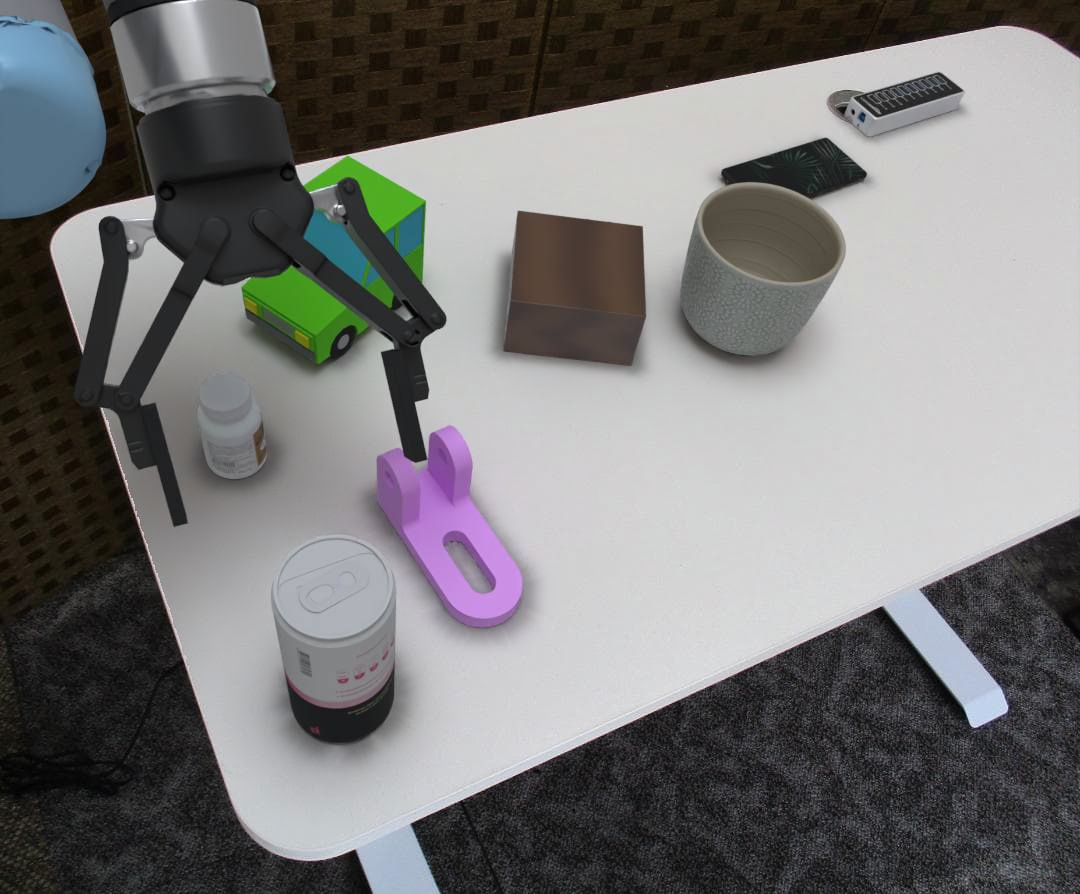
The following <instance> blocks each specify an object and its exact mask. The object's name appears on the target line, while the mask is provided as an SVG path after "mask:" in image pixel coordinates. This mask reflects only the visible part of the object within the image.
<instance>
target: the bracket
mask: <svg viewBox="0 0 1080 894" xmlns="http://www.w3.org/2000/svg"><path fill="white" fill-rule="evenodd" d="M473 464H474V463H473V457H472V453H471V451H470V448H469V446H468V443H467V442H466V440H465V438H464V437H463V435H462V433H461V432H460V431H459V430H458V429H457V428H456V427H455V426H454V425H451V424H449V425H446V426H444V427H441V428H439V429H437V430H435V431H433V432H431V433H430V434H429V435H428V449H427V465H426V466H427V467H426V468H425V469H423V470H420V471H418V472H417V471H416V469H415V467H414V464H413V462H412V461H411V460H409V459H407V458H405V457H404V453H403V449H402V448H400V447H395V448H393V449H391V450H388V451H386V452H384V453H381V454H379V455H377V456H376V502H377V503H378V505H379V506H380V508H381V509H382V511H383V512H384V514H385V516H386V517H387V519H388V521H389V522H390V523H391V525H392V527H393V528H394V530H395V531H396V533H397V534H398V536H399V537H400V539H401V541H402V542H403V543H404V545H405V547H406V548H407V550H408V551H409V553H410V555H411V556H412V557H413V559H414V560H415V562H416V564H417V565H418V567H419V569H420V570H421V572H422V573H423V574H424V576H425V577H426V580H427V581H428V582H429V584H430V585H431V587H432V588H433V590H434V591H435V594H436V595H437V596H438V598H439V599H440V601H441V602H442V604H443V605H444V607H445V608H446V610H447V612H448V613H449V615H451V616H452V617H453V618H454V619H455V620H457V621H458V622H460V623H462V624H464V625H466V626H469V627H473V628H479V629H480V628H481V629H483V628H492V627H497V626H498V625H501V624H503V623H505V622H506V621H508V620H509V619H510V618H511V617H512V616H513V615H514V613H515V612H516V611H517V609H518V607H519V605H520V601H521V597H522V594H523V589H524V588H523V587H524V582H523V576H522V573H521V570H520V568H519V566H518V565H517V563H516V562H515V560H514V559H513V558H512V556H511V555H510V553H509V552H508V550H507V549H506V547H505V546H504V545H503V544H502V542H501V541H500V539H499V538H498V536H497V535H496V533H495V532H494V530H493V529H492V528H491V526H490V525H489V524H488V522H487V521H486V519H485V518H484V516H483V515H482V513H481V512H480V511H479V510H478V508H477V507H476V505H475V504H474V502H473V500H472V498H471V495H470V492H471V485H472V476H473V467H474V465H473ZM454 541H456V542H459V543H461V544H462V545H464V546H465V548H466V549H467V551H468V552H469V554H470V555H471V557H472V558H473V559H474V561H475V563H476V565H477V566H478V567H479V568H480V569H481V571H482V573H483V574H484V576H485V578H486V579H487V581H489V583H490V584H491V586H492V588H493V589H492V590H491V591H490V592H488V593H480V592H477V591H475V590H474V588H472V587H471V585H470V583H469V582H468V581H467V579H466V578H465V576H464V575H463V573H462V572H461V570H460V568H459V567H458V565H457V564H456V563H455V561H454V559H453V557H452V556H451V555H450V553H449V552H448V551H447V548H445V545H446V544H447V543H450V542H454Z"/></svg>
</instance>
